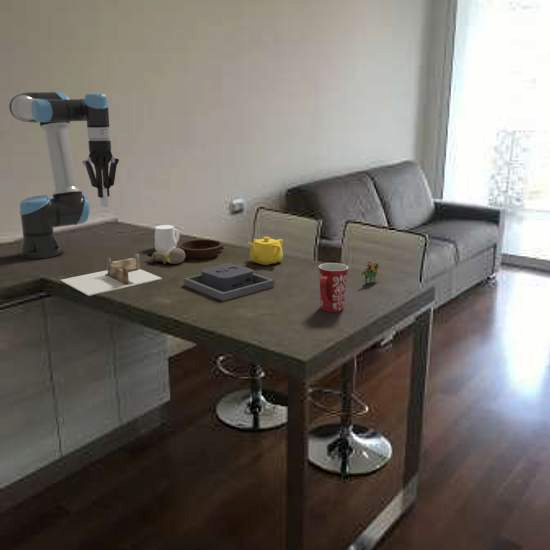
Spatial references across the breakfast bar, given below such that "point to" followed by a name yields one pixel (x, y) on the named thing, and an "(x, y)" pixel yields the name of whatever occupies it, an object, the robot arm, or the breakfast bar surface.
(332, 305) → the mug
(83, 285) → the card
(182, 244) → the dish
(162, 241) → the mug
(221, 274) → the streaming box
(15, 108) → the robot arm
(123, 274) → the bar
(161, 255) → the toy
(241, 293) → the speaker coaster
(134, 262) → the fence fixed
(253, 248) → the teapot
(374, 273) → the figurine
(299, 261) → the breakfast bar surface
